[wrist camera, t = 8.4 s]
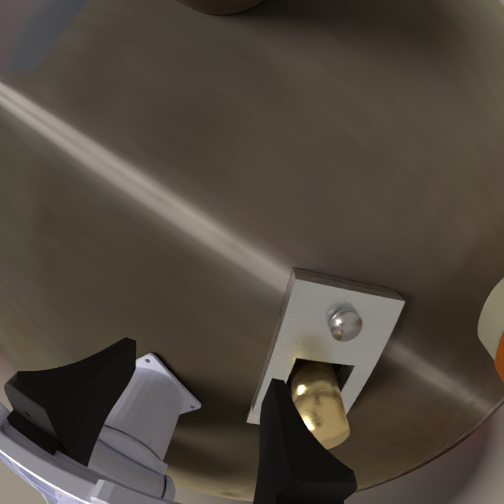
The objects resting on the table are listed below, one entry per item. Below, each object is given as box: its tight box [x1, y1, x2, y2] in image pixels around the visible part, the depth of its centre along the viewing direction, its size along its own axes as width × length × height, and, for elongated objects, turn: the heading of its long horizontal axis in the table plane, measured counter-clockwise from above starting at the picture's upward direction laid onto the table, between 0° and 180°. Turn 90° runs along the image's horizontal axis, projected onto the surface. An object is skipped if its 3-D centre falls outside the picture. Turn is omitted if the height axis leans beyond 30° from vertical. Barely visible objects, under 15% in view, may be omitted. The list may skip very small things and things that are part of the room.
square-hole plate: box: [246, 268, 405, 425], centre depth 22 cm, size 17×9×3 cm, turn 168°
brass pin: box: [290, 358, 350, 449], centre depth 20 cm, size 4×4×8 cm
